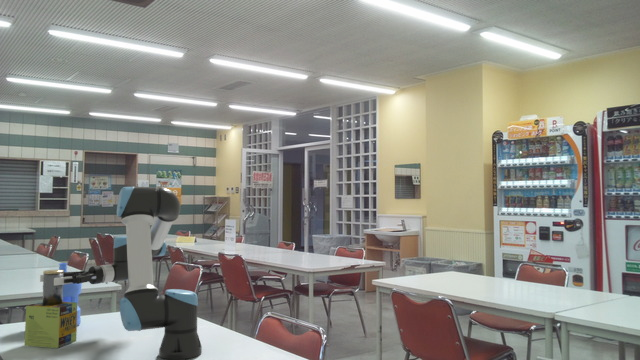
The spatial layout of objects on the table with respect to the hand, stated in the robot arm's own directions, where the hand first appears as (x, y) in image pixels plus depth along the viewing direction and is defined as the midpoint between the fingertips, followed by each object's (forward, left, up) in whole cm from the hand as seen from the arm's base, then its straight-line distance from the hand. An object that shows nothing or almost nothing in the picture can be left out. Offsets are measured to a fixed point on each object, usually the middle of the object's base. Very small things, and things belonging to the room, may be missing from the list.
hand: (47, 280), depth 194 cm
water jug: (+26, -16, -25) cm, 40 cm away
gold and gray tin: (0, -2, -10) cm, 10 cm away
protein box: (0, -2, -25) cm, 26 cm away
